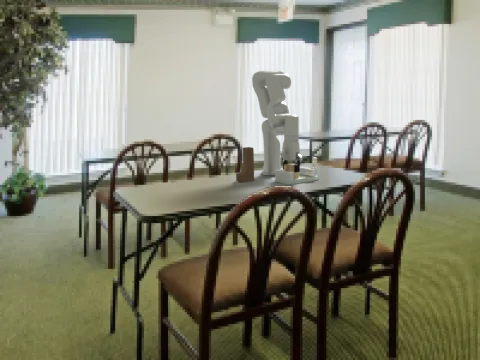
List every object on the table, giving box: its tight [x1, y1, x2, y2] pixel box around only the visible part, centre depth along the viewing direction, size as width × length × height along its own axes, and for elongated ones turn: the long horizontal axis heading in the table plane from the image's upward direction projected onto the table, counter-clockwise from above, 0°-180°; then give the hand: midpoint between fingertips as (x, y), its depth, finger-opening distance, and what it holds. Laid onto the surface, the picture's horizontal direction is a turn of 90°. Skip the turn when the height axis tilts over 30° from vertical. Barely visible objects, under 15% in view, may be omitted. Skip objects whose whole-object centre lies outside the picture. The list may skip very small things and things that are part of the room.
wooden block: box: [235, 146, 255, 183], centre depth 262 cm, size 9×4×18 cm, turn 120°
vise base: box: [274, 169, 320, 185], centre depth 261 cm, size 12×20×6 cm, turn 122°
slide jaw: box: [299, 157, 318, 177], centre depth 265 cm, size 12×9×9 cm
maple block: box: [284, 163, 299, 178], centre depth 258 cm, size 5×6×7 cm
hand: (291, 170), depth 259 cm, fingers open, 9 cm apart
